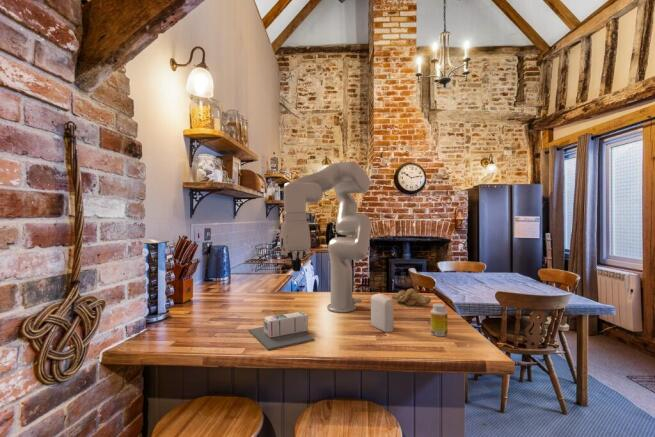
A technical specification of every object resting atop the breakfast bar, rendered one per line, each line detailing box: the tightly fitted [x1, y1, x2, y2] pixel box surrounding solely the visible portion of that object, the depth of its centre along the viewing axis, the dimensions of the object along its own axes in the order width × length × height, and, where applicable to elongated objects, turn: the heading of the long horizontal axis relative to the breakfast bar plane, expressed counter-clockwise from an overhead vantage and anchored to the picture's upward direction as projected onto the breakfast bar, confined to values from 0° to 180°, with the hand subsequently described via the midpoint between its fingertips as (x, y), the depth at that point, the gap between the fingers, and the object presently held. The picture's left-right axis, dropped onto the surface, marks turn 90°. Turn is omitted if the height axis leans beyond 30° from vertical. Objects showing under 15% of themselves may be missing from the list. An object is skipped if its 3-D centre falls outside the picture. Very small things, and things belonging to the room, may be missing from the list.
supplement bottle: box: [430, 303, 448, 337], centre depth 118 cm, size 6×6×10 cm
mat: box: [248, 326, 315, 351], centre depth 117 cm, size 16×20×1 cm
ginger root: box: [391, 287, 432, 307], centre depth 159 cm, size 16×16×8 cm
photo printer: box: [370, 293, 395, 333], centre depth 125 cm, size 10×4×12 cm, turn 26°
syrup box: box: [263, 310, 309, 338], centre depth 119 cm, size 6×6×14 cm
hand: (296, 270), depth 118 cm, fingers closed
